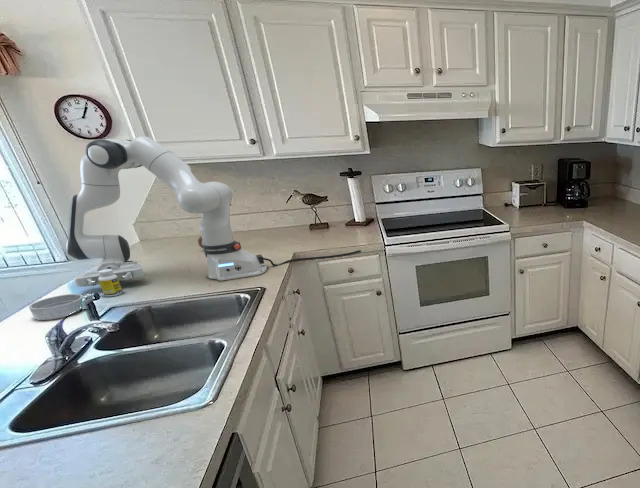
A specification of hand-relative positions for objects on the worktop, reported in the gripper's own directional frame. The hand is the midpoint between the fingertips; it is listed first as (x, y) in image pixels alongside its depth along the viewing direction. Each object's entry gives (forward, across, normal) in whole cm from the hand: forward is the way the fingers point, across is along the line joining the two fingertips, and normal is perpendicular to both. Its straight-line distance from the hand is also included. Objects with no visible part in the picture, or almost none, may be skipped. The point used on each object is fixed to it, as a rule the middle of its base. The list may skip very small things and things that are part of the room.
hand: (109, 280), depth 158 cm
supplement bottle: (0, 0, +6) cm, 6 cm away
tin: (-52, +39, +6) cm, 65 cm away
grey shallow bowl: (+12, -13, +5) cm, 19 cm away
